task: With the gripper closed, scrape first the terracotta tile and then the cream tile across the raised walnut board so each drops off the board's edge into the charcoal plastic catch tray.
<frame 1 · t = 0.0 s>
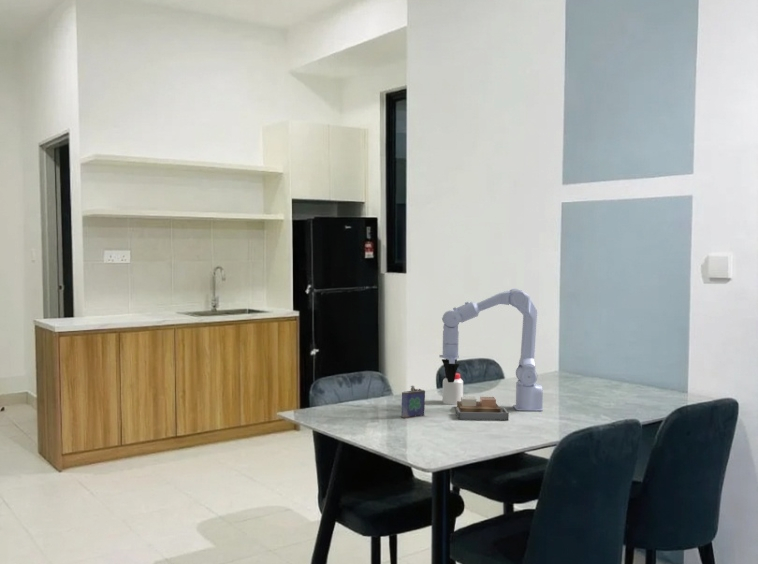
hand: (449, 380, 265), 10 cm above the table, fingers open, 7 cm apart
tile terracotta: (487, 405, 261), point 2 cm above the table, touching board
catch tray: (481, 417, 251), on the table
tile cream: (468, 404, 262), point 2 cm above the table, touching board
flask: (412, 417, 251), on the table
pill bottle: (452, 403, 275), on the table
board: (478, 410, 262), on the table
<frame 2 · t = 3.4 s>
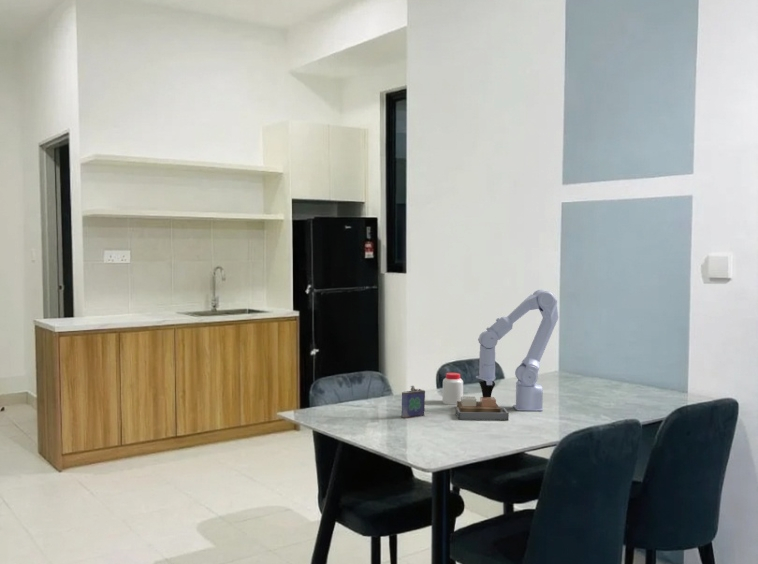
hand: (486, 401, 265), 3 cm above the table, fingers closed
tile terracotta: (487, 405, 261), point 2 cm above the table, touching board, gripper
everything else where it was.
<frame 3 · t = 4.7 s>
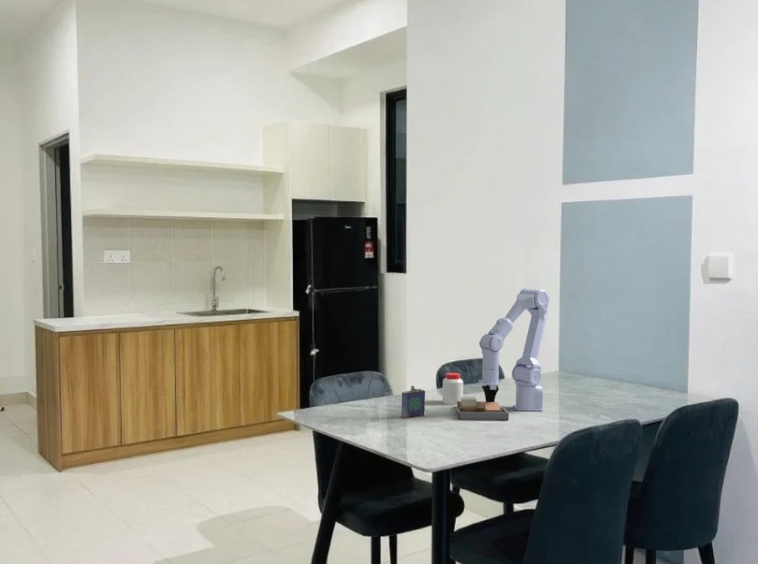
hand: (489, 406, 256), 3 cm above the table, fingers closed
tile terracotta: (491, 412, 253), point 1 cm above the table, tilted 20°, touching gripper
everything else where it was.
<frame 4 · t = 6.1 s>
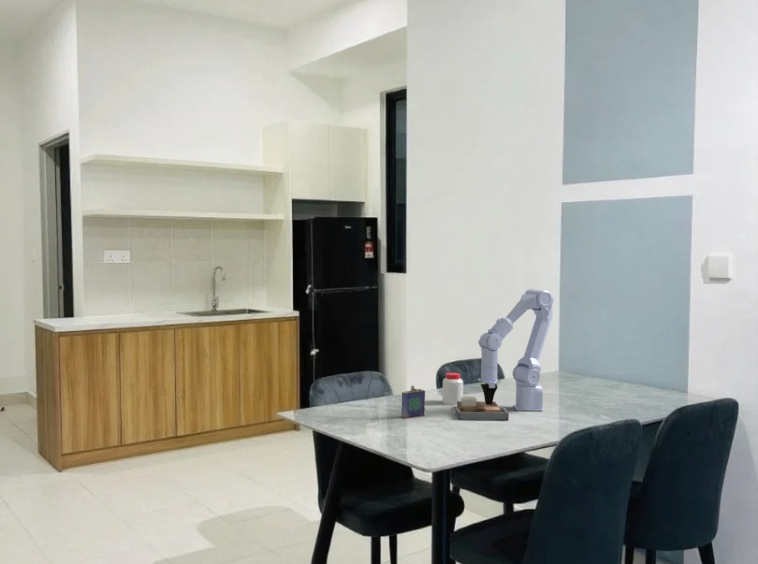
hand: (488, 404, 259), 3 cm above the table, fingers closed
tile terracotta: (492, 415, 252), resting on catch tray
everything else where it was.
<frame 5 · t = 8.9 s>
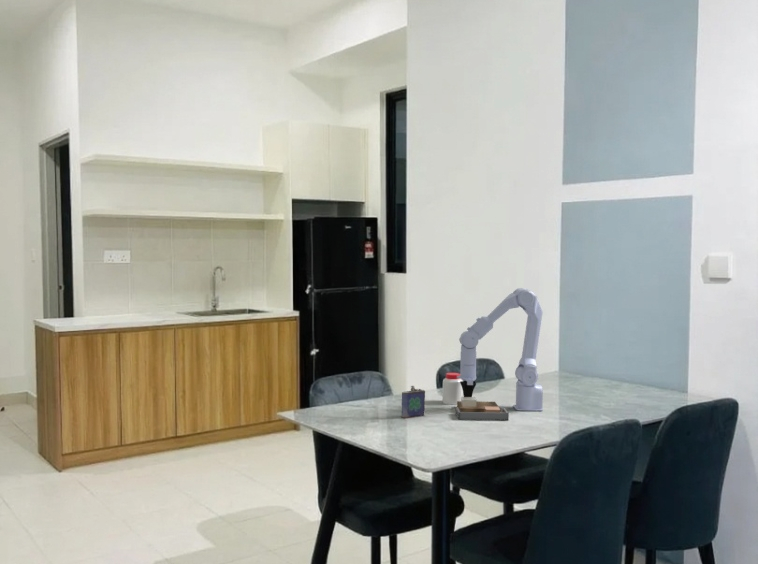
hand: (467, 401, 264), 3 cm above the table, fingers closed
tile cream: (468, 405, 261), point 2 cm above the table, touching board, gripper
everything else where it was.
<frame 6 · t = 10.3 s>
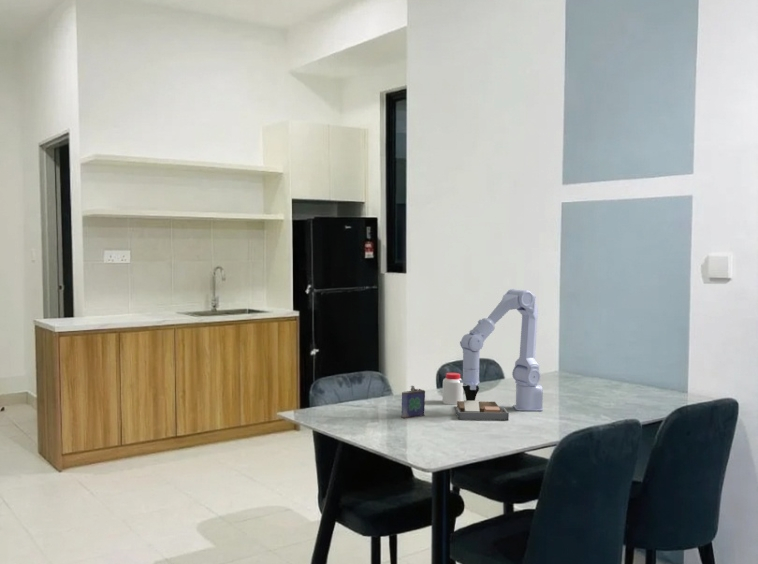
hand: (470, 406, 255), 3 cm above the table, fingers closed
tile cream: (471, 410, 253), point 2 cm above the table, tilted 34°, touching gripper
everything else where it was.
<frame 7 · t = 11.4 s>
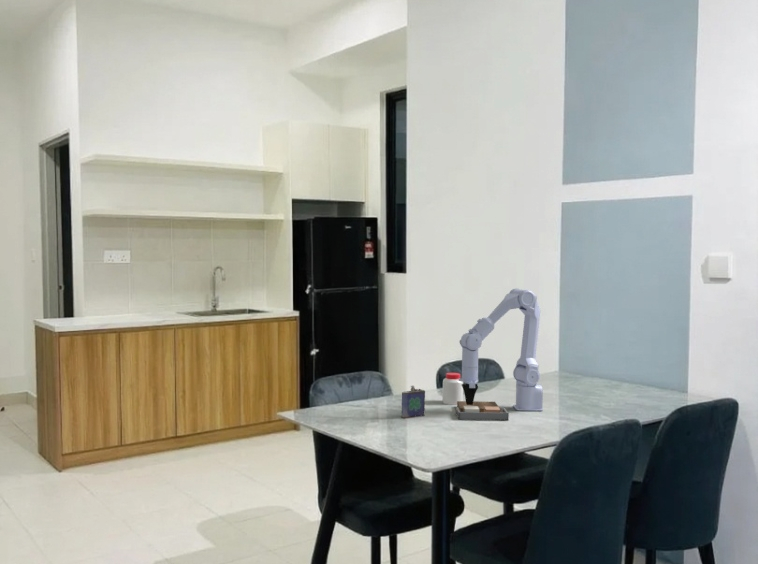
hand: (469, 404, 259), 3 cm above the table, fingers closed
tile cream: (471, 414, 253), resting on catch tray
everything else where it was.
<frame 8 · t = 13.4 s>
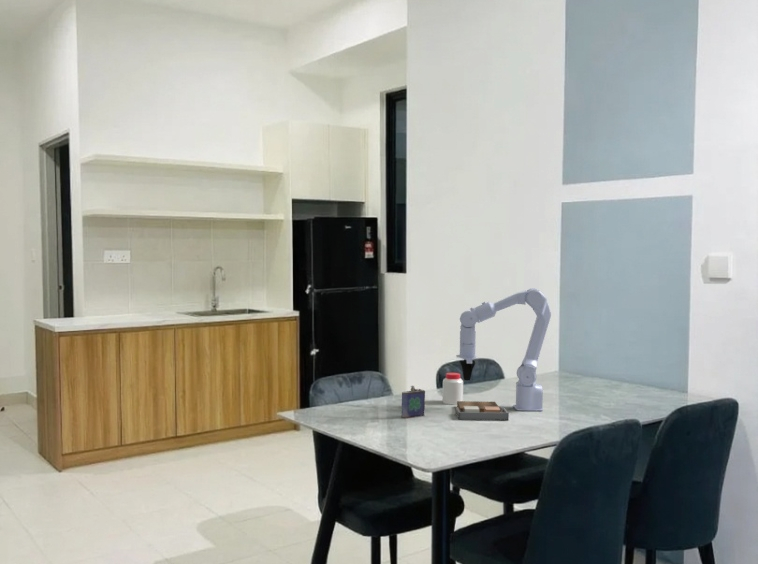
hand: (467, 380, 267), 10 cm above the table, fingers closed
nothing on the table moved.
at the end: tile terracotta inside the target area (4.1 cm from its centre), resting on catch tray; tile cream inside the target area (4.0 cm from its centre), resting on catch tray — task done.
